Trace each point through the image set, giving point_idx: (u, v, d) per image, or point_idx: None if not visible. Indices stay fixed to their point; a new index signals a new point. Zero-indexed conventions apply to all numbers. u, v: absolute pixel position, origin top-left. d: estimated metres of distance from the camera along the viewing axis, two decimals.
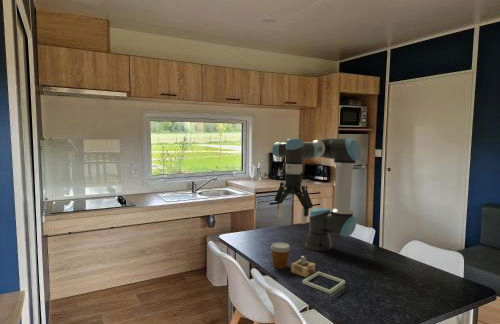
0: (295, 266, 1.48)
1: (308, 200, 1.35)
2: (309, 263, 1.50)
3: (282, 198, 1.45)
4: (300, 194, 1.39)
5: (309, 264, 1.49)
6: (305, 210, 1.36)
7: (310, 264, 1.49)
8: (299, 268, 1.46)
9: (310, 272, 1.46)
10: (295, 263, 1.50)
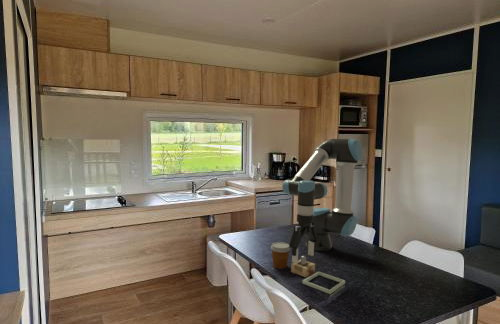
0: (295, 266, 1.48)
1: (292, 240, 1.42)
2: (309, 263, 1.50)
3: (308, 236, 1.53)
4: (299, 234, 1.45)
5: (309, 264, 1.49)
6: None
7: (310, 264, 1.49)
8: (299, 268, 1.46)
9: (310, 272, 1.46)
10: (295, 263, 1.50)
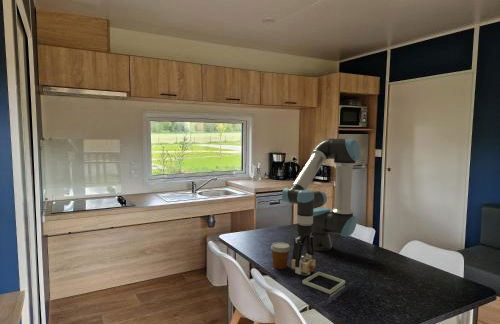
0: None
1: (294, 252, 1.44)
2: (309, 259, 1.50)
3: (306, 248, 1.52)
4: (300, 245, 1.46)
5: (309, 260, 1.49)
6: None
7: (310, 260, 1.49)
8: None
9: (310, 268, 1.46)
10: None
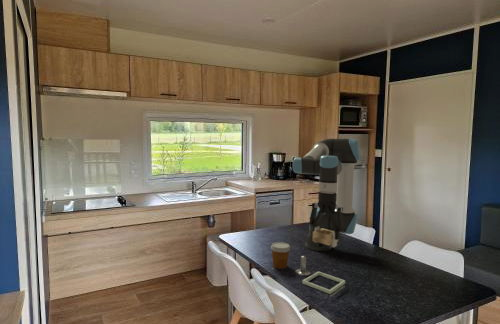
0: (332, 236, 1.33)
1: (341, 223, 1.31)
2: (323, 229, 1.40)
3: (318, 220, 1.38)
4: (333, 215, 1.34)
5: (325, 230, 1.40)
6: (336, 233, 1.33)
7: (325, 229, 1.40)
8: None
9: None
10: (327, 234, 1.33)
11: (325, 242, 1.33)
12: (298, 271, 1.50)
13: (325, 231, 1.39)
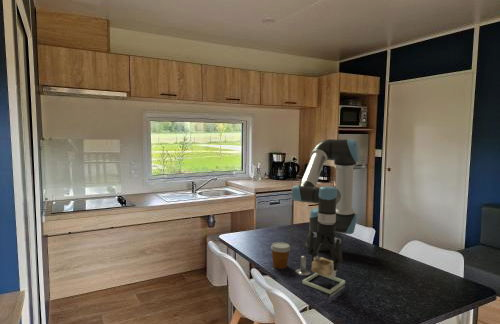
0: (331, 267, 1.34)
1: (340, 254, 1.32)
2: (321, 259, 1.41)
3: (316, 250, 1.39)
4: (332, 246, 1.35)
5: (324, 259, 1.40)
6: (335, 264, 1.34)
7: (324, 259, 1.41)
8: None
9: None
10: (326, 265, 1.34)
11: (324, 273, 1.33)
12: (298, 271, 1.50)
13: (324, 261, 1.40)
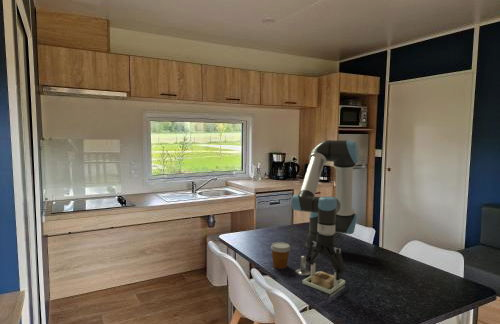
0: (330, 282, 1.34)
1: (342, 264, 1.32)
2: (321, 273, 1.41)
3: (314, 259, 1.40)
4: (333, 256, 1.35)
5: (324, 273, 1.41)
6: (337, 274, 1.33)
7: (323, 273, 1.42)
8: (333, 281, 1.36)
9: None
10: (325, 280, 1.35)
11: None
12: (298, 271, 1.50)
13: (323, 275, 1.41)
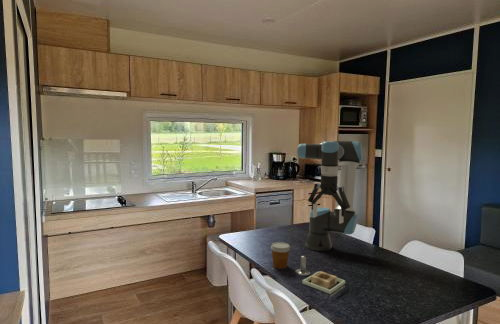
0: (330, 282, 1.34)
1: (346, 201, 1.41)
2: (321, 273, 1.41)
3: (317, 199, 1.50)
4: (336, 195, 1.44)
5: (324, 273, 1.41)
6: (343, 210, 1.42)
7: (323, 273, 1.42)
8: (333, 281, 1.36)
9: None
10: (325, 280, 1.35)
11: None
12: (298, 271, 1.50)
13: (323, 275, 1.41)
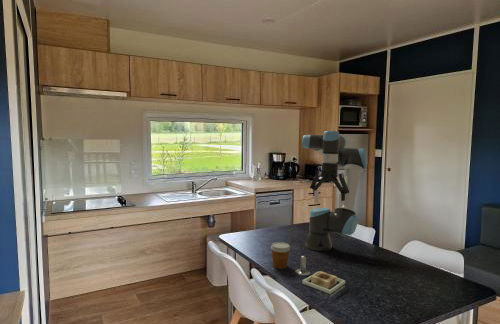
0: (330, 282, 1.34)
1: (345, 186, 1.50)
2: (321, 273, 1.41)
3: (318, 185, 1.59)
4: (337, 181, 1.53)
5: (324, 273, 1.41)
6: (342, 195, 1.51)
7: (323, 273, 1.42)
8: (333, 281, 1.36)
9: None
10: (325, 280, 1.35)
11: None
12: (298, 271, 1.50)
13: (323, 275, 1.41)
